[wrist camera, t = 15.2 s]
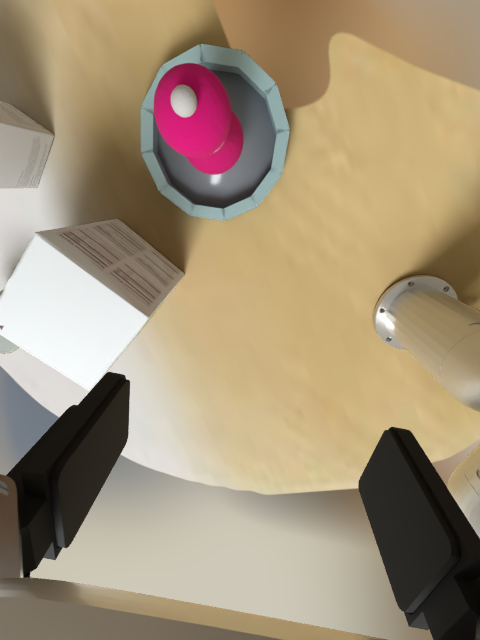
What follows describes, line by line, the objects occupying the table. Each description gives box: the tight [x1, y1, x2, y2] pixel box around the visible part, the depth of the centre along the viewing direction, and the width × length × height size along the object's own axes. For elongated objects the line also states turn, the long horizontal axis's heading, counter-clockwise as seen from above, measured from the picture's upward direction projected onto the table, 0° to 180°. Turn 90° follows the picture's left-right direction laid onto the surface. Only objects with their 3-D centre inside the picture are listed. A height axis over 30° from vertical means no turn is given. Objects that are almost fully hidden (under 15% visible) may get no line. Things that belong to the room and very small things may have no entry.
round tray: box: [141, 44, 290, 221], centre depth 36 cm, size 18×18×3 cm
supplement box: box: [0, 218, 185, 391], centre depth 38 cm, size 13×13×18 cm
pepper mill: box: [154, 63, 244, 175], centre depth 28 cm, size 7×7×20 cm
